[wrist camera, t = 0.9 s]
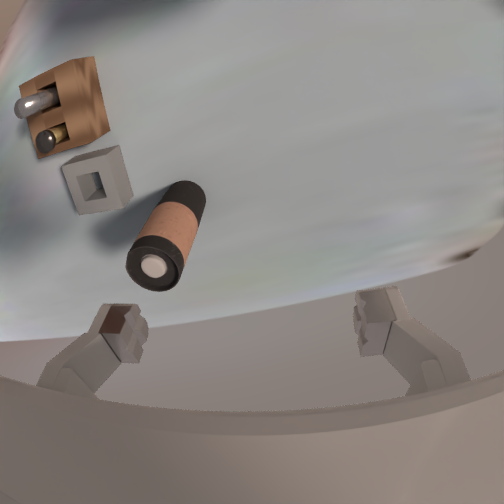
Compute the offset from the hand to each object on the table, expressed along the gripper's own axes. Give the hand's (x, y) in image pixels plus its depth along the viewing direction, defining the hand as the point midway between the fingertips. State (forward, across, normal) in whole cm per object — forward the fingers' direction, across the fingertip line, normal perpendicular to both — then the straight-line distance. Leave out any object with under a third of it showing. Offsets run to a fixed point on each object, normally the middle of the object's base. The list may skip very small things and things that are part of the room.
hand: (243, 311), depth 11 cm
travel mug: (+41, +15, +14) cm, 46 cm away
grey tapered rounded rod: (+41, +32, -11) cm, 53 cm away
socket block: (+41, +32, -8) cm, 53 cm away
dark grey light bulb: (+38, +32, -4) cm, 50 cm away
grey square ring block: (+41, +30, +7) cm, 52 cm away
